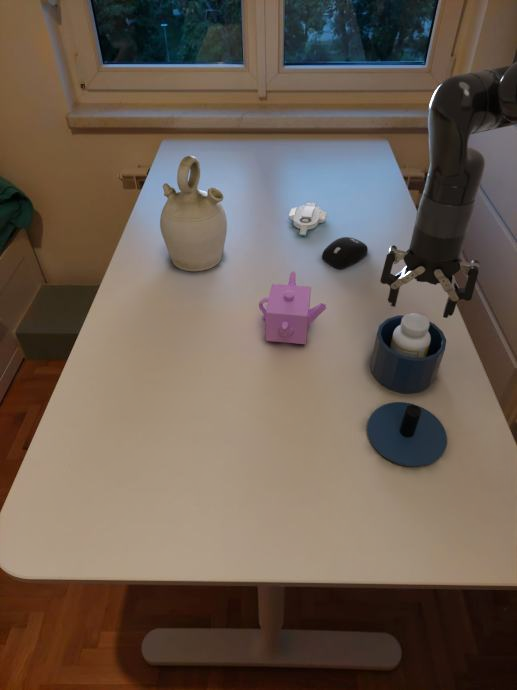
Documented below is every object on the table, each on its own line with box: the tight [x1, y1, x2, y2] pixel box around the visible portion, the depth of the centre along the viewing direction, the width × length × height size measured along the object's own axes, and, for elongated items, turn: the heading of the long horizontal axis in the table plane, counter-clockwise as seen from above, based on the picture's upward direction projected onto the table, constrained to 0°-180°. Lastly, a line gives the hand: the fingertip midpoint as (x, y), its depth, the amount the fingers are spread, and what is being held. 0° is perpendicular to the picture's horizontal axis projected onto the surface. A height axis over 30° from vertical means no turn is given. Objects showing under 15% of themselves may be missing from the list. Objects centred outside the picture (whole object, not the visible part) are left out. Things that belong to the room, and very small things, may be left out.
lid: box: [366, 401, 448, 468], centre depth 81 cm, size 13×13×7 cm
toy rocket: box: [288, 201, 328, 237], centre depth 134 cm, size 16×10×2 cm, turn 166°
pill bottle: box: [390, 312, 431, 358], centre depth 90 cm, size 6×6×12 cm
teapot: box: [258, 271, 327, 345], centre depth 99 cm, size 18×13×10 cm
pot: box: [370, 314, 447, 395], centre depth 91 cm, size 12×12×8 cm
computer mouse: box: [321, 236, 369, 270], centre depth 121 cm, size 8×12×4 cm, turn 129°
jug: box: [159, 155, 228, 272], centre depth 114 cm, size 15×16×25 cm
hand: (419, 309), depth 84 cm, fingers open, 8 cm apart
